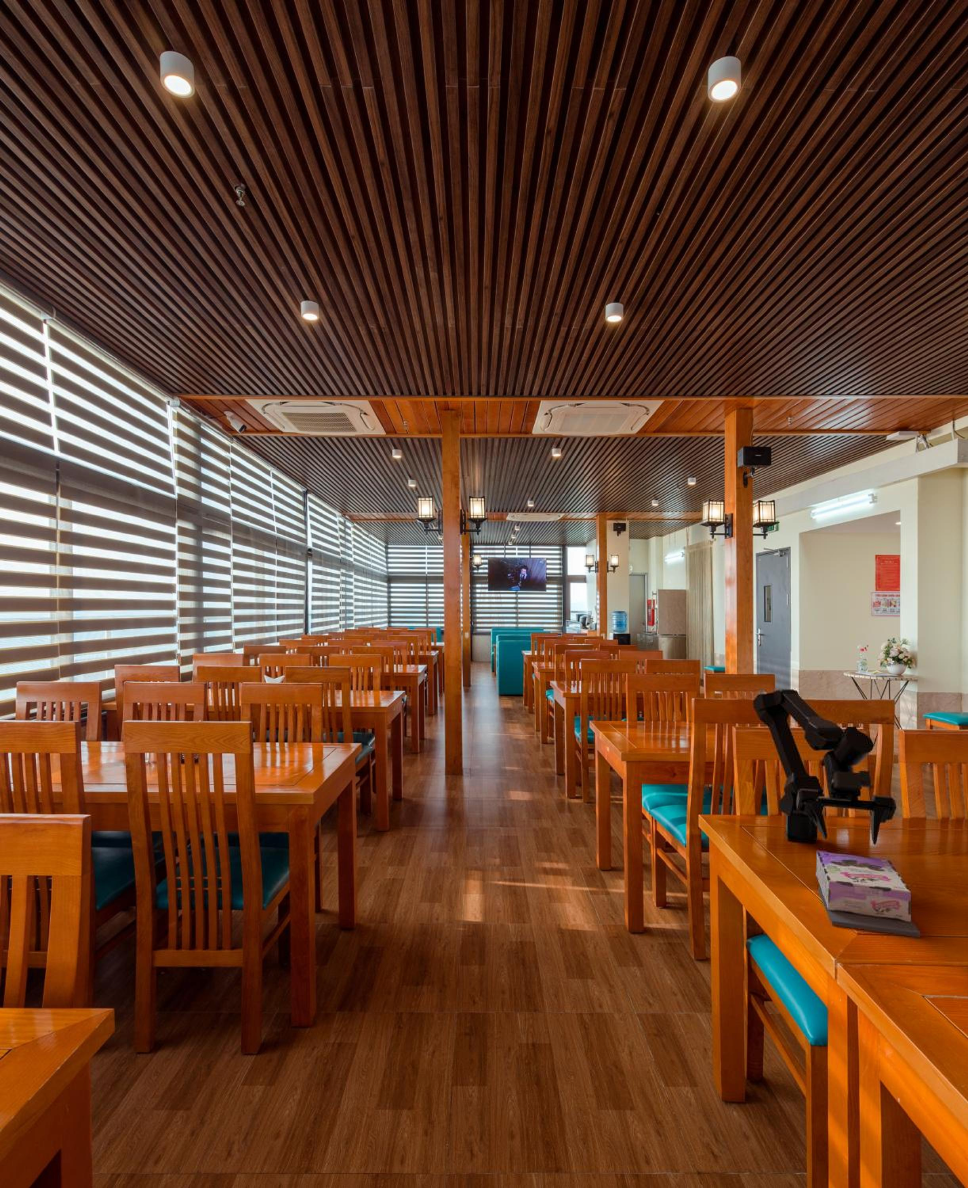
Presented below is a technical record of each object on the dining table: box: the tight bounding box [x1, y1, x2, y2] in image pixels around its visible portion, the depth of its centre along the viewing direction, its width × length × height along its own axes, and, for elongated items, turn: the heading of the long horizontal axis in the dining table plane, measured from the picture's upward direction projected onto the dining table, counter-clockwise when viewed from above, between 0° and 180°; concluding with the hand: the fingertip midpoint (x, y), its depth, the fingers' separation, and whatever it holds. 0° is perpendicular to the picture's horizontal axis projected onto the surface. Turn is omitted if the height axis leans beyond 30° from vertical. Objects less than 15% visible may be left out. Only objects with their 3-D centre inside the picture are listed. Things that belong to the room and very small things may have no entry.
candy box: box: [815, 850, 912, 922], centre depth 132 cm, size 14×6×16 cm
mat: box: [817, 887, 921, 938], centre depth 128 cm, size 14×15×1 cm
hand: (850, 840), depth 141 cm, fingers open, 9 cm apart
